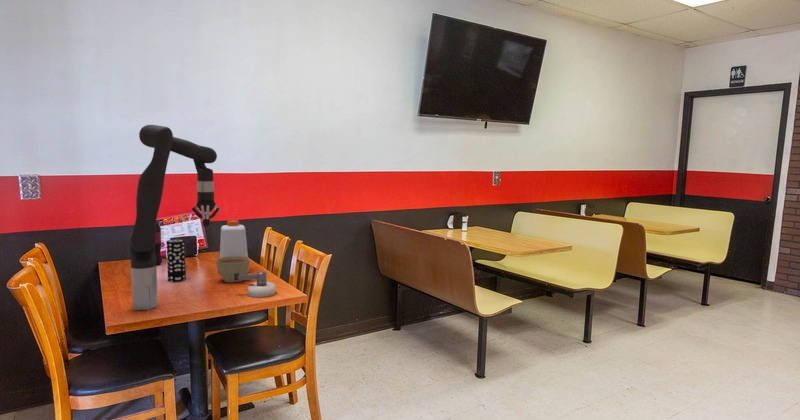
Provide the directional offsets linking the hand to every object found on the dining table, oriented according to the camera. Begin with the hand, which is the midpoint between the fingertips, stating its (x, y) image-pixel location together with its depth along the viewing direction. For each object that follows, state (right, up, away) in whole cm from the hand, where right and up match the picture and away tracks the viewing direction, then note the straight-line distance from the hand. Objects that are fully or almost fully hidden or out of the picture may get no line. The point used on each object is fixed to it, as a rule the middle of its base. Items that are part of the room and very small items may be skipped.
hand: (206, 226), depth 226 cm
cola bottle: (-47, -23, +43) cm, 68 cm away
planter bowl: (+8, -28, +15) cm, 33 cm away
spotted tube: (-20, -27, +13) cm, 37 cm away
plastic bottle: (+2, -26, +32) cm, 41 cm away
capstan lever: (+24, -26, -8) cm, 36 cm away
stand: (+28, -31, -7) cm, 42 cm away
